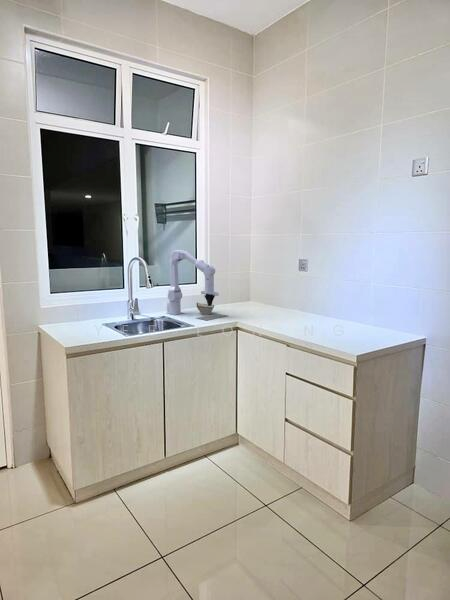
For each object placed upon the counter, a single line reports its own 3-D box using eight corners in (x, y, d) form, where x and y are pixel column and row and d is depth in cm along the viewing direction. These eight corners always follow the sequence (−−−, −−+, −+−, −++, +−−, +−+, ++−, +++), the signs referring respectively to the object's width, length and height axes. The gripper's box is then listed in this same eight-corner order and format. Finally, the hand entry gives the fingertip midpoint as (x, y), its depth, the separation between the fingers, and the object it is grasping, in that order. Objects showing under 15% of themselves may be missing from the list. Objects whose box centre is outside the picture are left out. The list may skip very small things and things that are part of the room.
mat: (196, 318, 253) (196, 318, 253) (217, 314, 267) (217, 313, 267) (206, 320, 246) (206, 320, 246) (228, 316, 260) (228, 315, 260)
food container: (213, 317, 265) (212, 312, 275) (214, 309, 264) (214, 304, 273) (195, 315, 264) (195, 310, 273) (196, 306, 262) (196, 302, 272)
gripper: (197, 284, 257) (197, 305, 259) (212, 286, 247) (213, 307, 249) (205, 284, 262) (205, 303, 264) (220, 285, 252) (220, 306, 254)
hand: (209, 305), depth 257 cm, fingers closed
